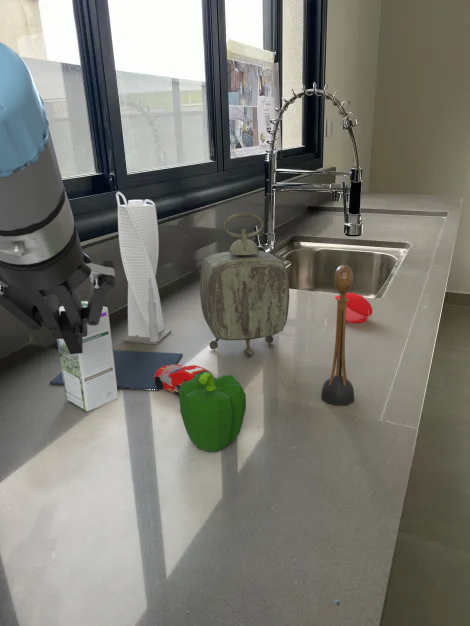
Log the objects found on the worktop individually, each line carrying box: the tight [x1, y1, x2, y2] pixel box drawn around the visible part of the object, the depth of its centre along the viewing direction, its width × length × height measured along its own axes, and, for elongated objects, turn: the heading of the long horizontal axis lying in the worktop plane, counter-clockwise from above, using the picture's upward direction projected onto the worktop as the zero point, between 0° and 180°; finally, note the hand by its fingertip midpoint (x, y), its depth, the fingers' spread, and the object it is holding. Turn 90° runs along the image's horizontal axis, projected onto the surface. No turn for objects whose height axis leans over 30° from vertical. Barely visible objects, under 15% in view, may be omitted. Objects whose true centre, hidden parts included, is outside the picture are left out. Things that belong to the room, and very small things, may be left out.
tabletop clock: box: [199, 211, 291, 357], centre depth 86 cm, size 14×9×25 cm, turn 104°
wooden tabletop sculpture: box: [321, 264, 355, 407], centre depth 70 cm, size 6×5×20 cm
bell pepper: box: [178, 372, 247, 453], centre depth 61 cm, size 8×8×10 cm
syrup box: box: [56, 300, 119, 412], centre depth 71 cm, size 6×6×14 cm
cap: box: [334, 292, 373, 324], centre depth 105 cm, size 8×6×6 cm
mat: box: [49, 349, 183, 391], centre depth 84 cm, size 18×14×1 cm
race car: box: [154, 364, 220, 397], centre depth 74 cm, size 13×5×4 cm, turn 47°
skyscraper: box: [115, 191, 172, 345], centre depth 95 cm, size 8×8×28 cm
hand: (76, 343), depth 63 cm, fingers closed
